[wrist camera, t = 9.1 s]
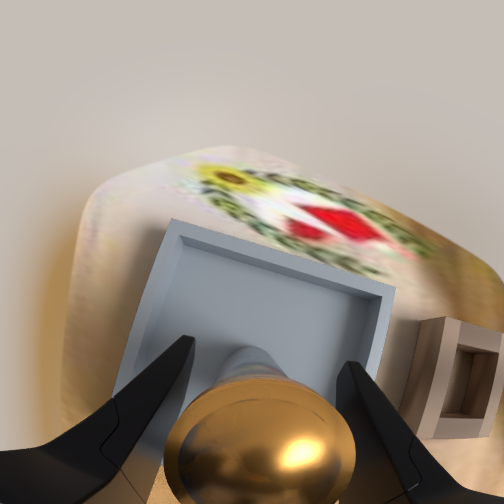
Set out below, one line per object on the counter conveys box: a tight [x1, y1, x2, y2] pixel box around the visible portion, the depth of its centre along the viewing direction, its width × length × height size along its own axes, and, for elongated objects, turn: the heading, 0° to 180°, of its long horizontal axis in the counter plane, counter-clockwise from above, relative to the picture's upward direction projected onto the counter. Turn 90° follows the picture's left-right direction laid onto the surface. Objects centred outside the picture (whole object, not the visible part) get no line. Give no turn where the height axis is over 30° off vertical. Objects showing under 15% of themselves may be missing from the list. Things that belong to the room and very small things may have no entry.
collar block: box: [398, 316, 504, 439], centre depth 16 cm, size 8×8×3 cm
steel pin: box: [163, 346, 356, 504], centre depth 11 cm, size 4×4×12 cm
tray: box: [111, 218, 396, 465], centre depth 16 cm, size 14×14×2 cm
